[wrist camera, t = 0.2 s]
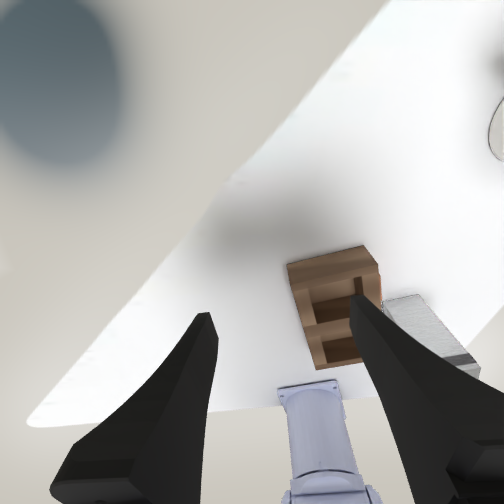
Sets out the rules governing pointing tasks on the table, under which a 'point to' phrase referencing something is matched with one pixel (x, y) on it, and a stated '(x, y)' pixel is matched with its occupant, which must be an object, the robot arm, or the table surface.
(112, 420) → the robot arm
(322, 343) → the port block
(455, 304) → the table surface
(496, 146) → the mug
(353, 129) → the table surface
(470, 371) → the plug
